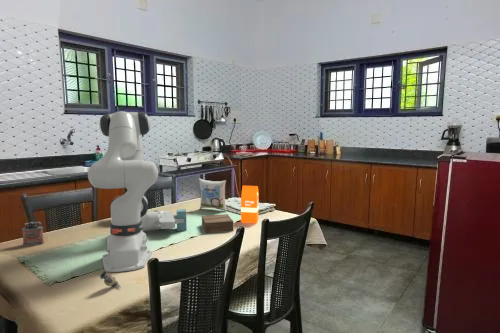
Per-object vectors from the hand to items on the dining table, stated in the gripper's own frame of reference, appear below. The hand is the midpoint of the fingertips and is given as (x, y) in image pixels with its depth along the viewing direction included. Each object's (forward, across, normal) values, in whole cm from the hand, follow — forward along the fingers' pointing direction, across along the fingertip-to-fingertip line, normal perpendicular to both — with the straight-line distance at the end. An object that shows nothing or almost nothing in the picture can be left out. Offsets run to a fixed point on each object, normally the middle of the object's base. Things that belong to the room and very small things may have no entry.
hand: (183, 218), depth 170 cm
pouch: (+21, +35, +6) cm, 41 cm away
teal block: (-1, 0, +6) cm, 6 cm away
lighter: (-66, -5, +6) cm, 66 cm away
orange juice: (+37, +6, +6) cm, 38 cm away
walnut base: (+17, -2, +6) cm, 18 cm away
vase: (-28, -57, +6) cm, 64 cm away
